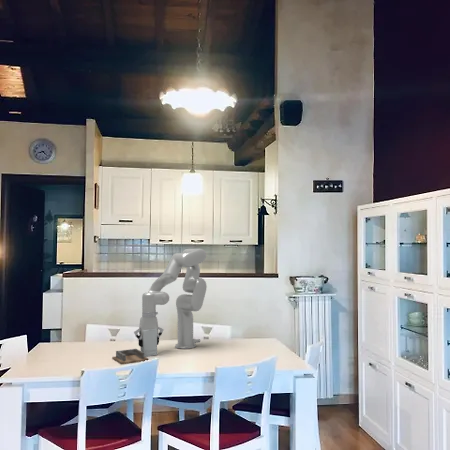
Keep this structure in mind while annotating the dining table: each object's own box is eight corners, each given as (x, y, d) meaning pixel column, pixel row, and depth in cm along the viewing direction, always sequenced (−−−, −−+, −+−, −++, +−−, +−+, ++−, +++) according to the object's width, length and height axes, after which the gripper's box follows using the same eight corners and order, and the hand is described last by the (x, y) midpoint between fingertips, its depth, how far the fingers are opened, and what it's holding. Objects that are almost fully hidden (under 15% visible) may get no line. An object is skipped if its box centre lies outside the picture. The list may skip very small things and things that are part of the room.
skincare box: (153, 353, 260) (153, 327, 261) (157, 355, 255) (157, 328, 255) (139, 355, 256) (139, 328, 257) (143, 357, 250) (143, 329, 251)
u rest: (138, 355, 255) (138, 347, 255) (148, 360, 242) (148, 353, 243) (112, 358, 247) (112, 351, 248) (121, 364, 235) (121, 356, 235)
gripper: (160, 312, 264) (160, 342, 263) (131, 315, 255) (131, 346, 254) (165, 314, 258) (165, 344, 257) (136, 316, 249) (136, 348, 248)
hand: (148, 345), depth 256 cm, fingers open, 9 cm apart
